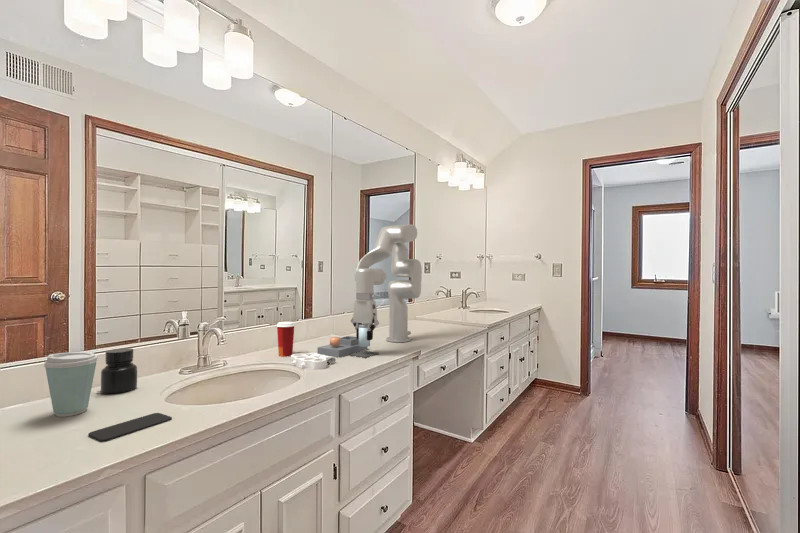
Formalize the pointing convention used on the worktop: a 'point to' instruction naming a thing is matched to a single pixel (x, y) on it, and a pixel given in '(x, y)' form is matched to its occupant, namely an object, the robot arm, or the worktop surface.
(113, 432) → the phone
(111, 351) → the ink bottle
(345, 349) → the grey stepped block
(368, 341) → the cylinder
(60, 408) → the disposable coffee cup
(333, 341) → the plunger
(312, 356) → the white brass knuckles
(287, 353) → the paper cup
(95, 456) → the worktop surface
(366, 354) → the mat
